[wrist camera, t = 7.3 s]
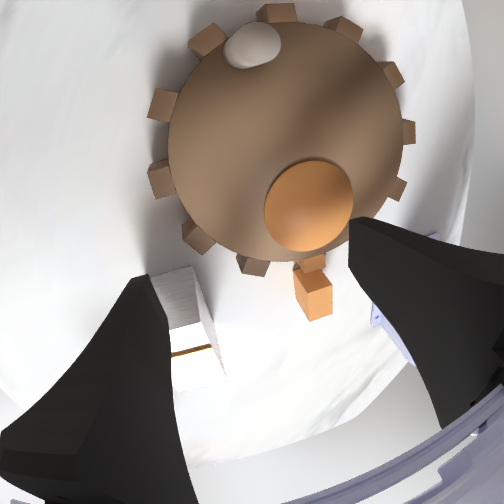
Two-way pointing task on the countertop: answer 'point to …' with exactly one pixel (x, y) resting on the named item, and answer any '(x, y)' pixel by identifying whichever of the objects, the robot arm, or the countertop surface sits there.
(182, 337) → the white banded box
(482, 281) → the robot arm
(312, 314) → the block
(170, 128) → the brown gear wheel
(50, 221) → the countertop surface
